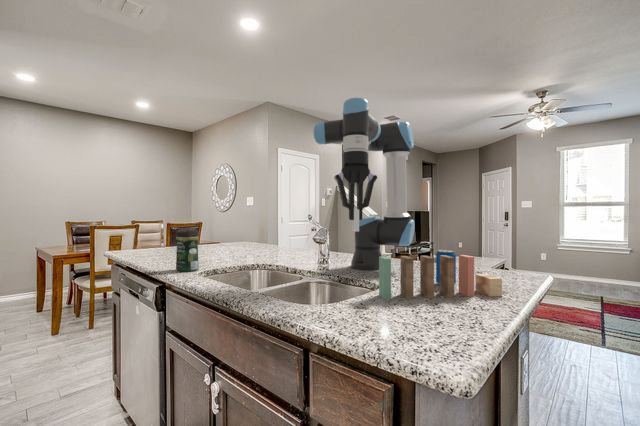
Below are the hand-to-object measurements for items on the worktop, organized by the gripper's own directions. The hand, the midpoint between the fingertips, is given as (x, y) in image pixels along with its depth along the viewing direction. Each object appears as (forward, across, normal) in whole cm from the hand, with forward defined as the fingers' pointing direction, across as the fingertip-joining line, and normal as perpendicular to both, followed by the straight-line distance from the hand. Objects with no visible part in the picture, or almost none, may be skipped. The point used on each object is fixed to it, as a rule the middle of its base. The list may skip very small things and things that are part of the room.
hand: (355, 231), depth 93 cm
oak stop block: (+20, +43, 0) cm, 48 cm away
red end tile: (+20, +36, 0) cm, 41 cm away
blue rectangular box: (+20, +36, +13) cm, 43 cm away
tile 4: (+20, +29, 0) cm, 35 cm away
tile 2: (+20, +16, 0) cm, 26 cm away
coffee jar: (+20, -63, +53) cm, 85 cm away
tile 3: (+20, +23, 0) cm, 30 cm away
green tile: (+20, +9, 0) cm, 22 cm away
